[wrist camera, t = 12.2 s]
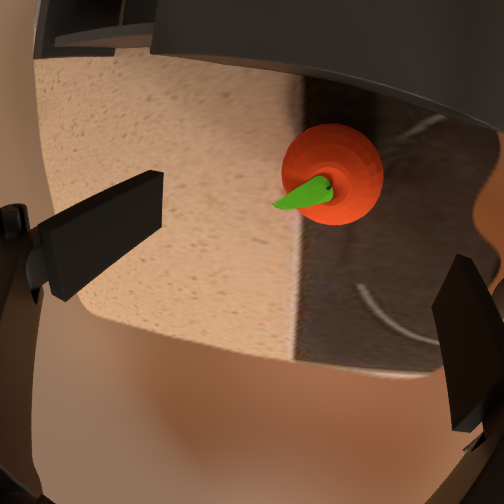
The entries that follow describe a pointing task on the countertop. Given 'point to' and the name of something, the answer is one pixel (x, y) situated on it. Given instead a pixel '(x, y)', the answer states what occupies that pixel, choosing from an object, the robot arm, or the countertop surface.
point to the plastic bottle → (499, 298)
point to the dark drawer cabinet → (355, 46)
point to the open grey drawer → (91, 27)
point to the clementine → (331, 174)
